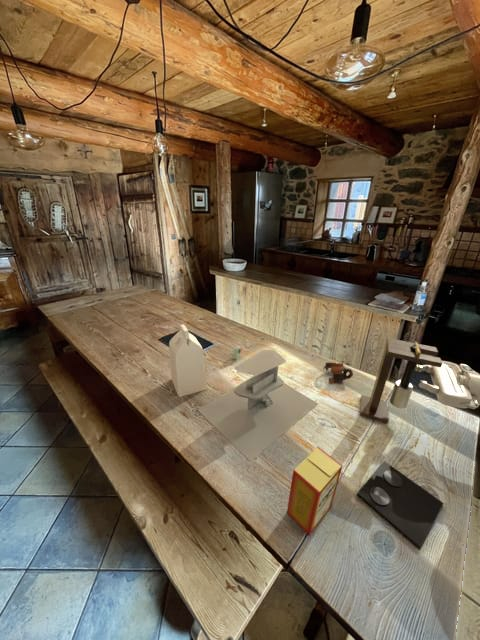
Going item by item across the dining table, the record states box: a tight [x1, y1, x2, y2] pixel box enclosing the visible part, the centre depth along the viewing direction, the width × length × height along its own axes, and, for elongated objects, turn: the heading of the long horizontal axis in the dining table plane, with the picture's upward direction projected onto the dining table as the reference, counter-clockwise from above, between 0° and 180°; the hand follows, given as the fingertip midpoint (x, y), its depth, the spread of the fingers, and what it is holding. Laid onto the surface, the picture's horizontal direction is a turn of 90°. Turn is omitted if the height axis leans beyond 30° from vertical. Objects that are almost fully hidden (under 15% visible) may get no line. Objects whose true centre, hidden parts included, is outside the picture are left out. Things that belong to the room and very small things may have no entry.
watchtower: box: [196, 349, 319, 462], centre depth 94 cm, size 36×28×20 cm
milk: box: [168, 323, 208, 398], centre depth 103 cm, size 12×12×26 cm
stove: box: [356, 460, 444, 550], centre depth 68 cm, size 15×15×1 cm
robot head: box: [229, 345, 242, 360], centre depth 125 cm, size 8×4×7 cm, turn 154°
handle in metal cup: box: [389, 341, 422, 409], centre depth 87 cm, size 5×7×23 cm
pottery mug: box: [322, 362, 354, 385], centre depth 113 cm, size 12×10×8 cm
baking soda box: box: [286, 446, 343, 536], centre depth 63 cm, size 10×6×16 cm
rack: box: [359, 337, 443, 425], centre depth 90 cm, size 17×10×28 cm, turn 65°
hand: (417, 375), depth 85 cm, fingers open, 8 cm apart
